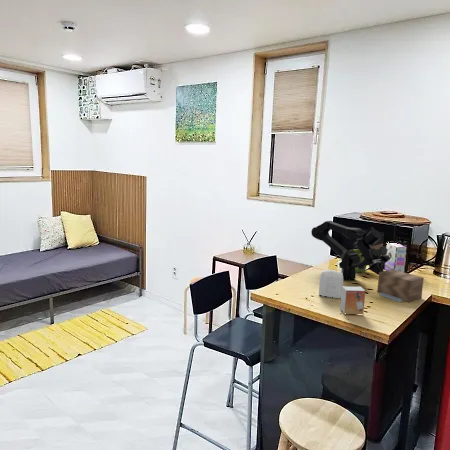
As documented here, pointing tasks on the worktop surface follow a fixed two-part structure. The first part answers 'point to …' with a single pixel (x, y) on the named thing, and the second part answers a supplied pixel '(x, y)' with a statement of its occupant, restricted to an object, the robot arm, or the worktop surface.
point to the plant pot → (360, 261)
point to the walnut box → (400, 285)
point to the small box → (352, 300)
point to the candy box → (396, 257)
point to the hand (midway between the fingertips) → (383, 277)
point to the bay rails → (391, 297)
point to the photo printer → (331, 283)
